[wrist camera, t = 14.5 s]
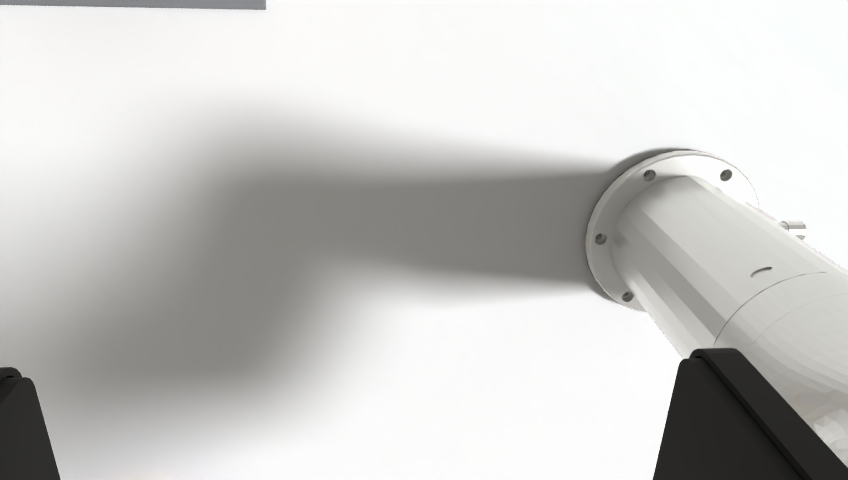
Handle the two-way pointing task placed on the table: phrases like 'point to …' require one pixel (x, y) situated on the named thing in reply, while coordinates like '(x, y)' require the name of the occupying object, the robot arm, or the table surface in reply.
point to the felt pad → (148, 3)
